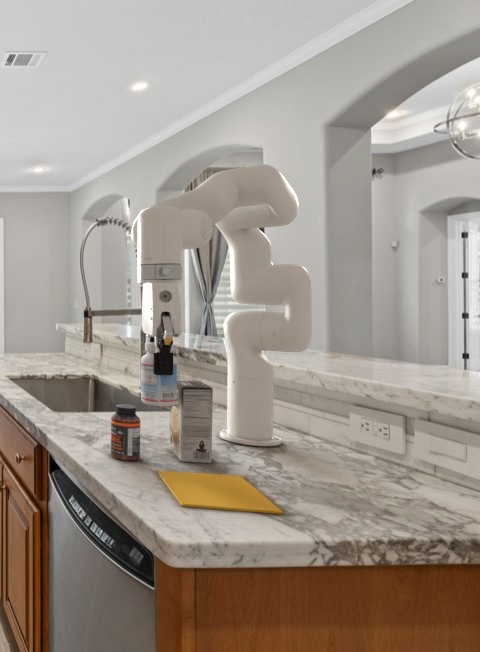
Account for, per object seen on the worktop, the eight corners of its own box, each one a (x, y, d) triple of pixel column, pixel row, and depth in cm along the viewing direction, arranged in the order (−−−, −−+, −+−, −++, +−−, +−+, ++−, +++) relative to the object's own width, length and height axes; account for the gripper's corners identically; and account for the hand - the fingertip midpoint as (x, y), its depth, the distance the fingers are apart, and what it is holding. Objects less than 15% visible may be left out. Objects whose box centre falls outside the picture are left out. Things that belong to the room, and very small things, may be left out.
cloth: (156, 472, 109) (156, 470, 109) (240, 477, 105) (240, 475, 105) (181, 506, 91) (181, 503, 91) (283, 514, 88) (283, 511, 88)
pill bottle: (174, 401, 103) (174, 342, 102) (179, 407, 97) (179, 345, 97) (139, 399, 105) (139, 341, 104) (142, 405, 99) (142, 344, 99)
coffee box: (168, 449, 124) (169, 379, 124) (198, 451, 123) (199, 380, 123) (180, 461, 115) (181, 386, 115) (213, 463, 114) (214, 387, 114)
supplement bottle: (104, 455, 120) (104, 404, 120) (124, 452, 122) (125, 402, 122) (125, 463, 114) (125, 409, 114) (146, 459, 117) (146, 407, 117)
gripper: (195, 273, 91) (194, 380, 91) (169, 276, 108) (168, 366, 108) (147, 273, 93) (146, 378, 93) (129, 276, 110) (128, 365, 110)
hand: (158, 371), depth 101 cm, fingers closed on pill bottle, 6 cm apart
